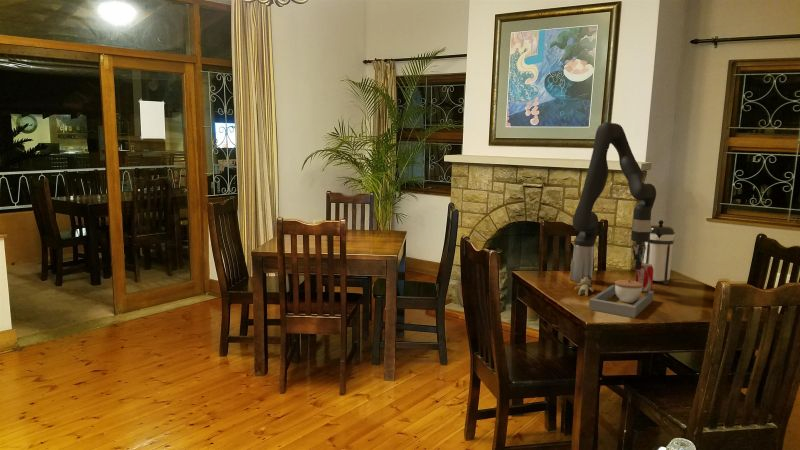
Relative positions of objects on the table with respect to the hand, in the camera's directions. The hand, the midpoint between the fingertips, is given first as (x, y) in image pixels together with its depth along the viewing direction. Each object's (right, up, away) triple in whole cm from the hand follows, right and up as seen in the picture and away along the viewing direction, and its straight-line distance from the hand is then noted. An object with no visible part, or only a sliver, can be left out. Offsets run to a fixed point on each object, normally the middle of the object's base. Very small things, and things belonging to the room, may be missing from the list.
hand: (638, 269), depth 250 cm
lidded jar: (-9, -13, -10) cm, 18 cm away
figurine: (-22, -11, +3) cm, 25 cm away
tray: (-13, -13, -16) cm, 25 cm away
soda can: (+6, -10, +9) cm, 15 cm away
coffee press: (+20, -8, +29) cm, 36 cm away
